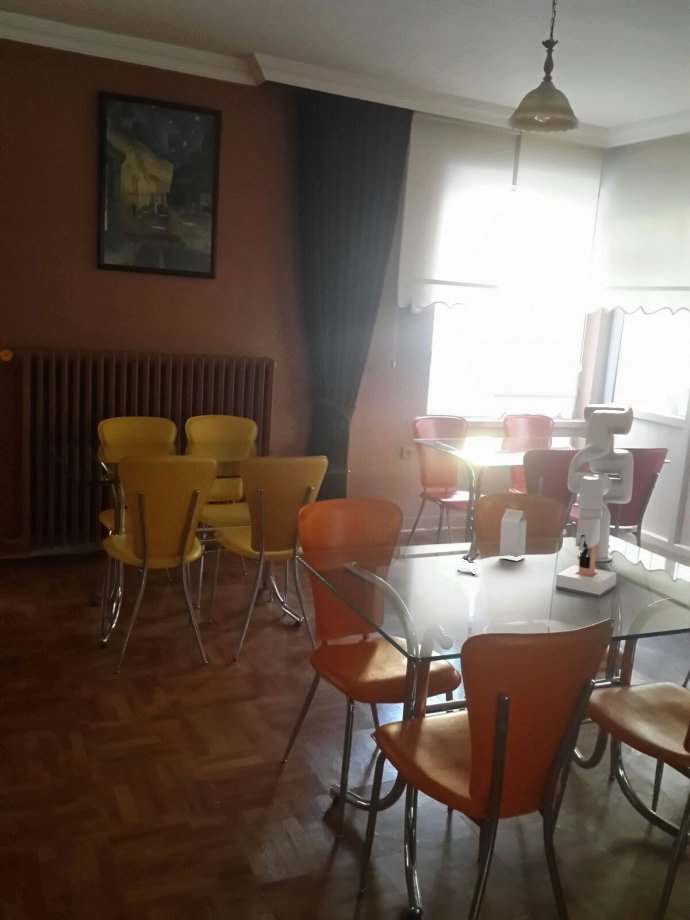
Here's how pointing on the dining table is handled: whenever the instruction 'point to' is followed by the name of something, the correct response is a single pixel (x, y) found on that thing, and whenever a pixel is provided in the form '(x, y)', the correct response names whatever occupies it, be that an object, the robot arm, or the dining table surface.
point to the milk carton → (513, 533)
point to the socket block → (586, 581)
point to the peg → (591, 570)
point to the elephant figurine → (470, 559)
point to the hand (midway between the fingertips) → (587, 565)
